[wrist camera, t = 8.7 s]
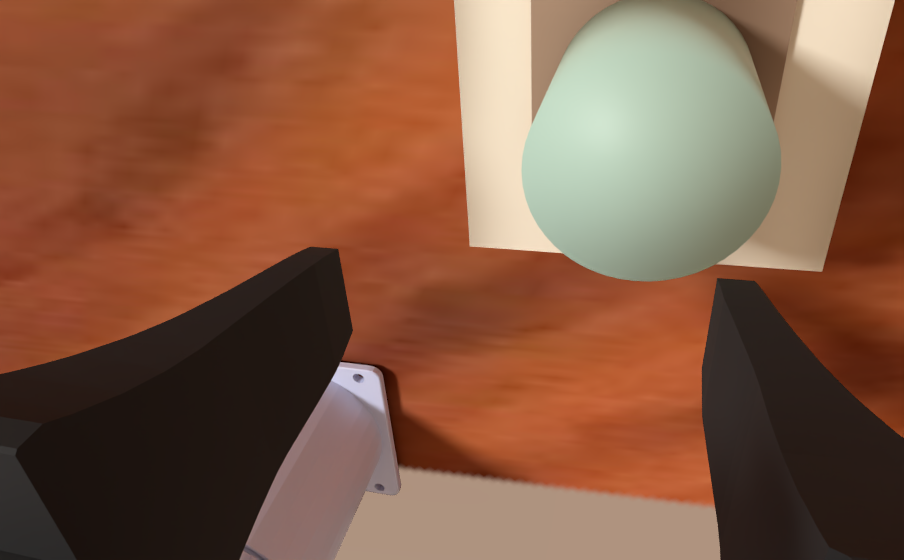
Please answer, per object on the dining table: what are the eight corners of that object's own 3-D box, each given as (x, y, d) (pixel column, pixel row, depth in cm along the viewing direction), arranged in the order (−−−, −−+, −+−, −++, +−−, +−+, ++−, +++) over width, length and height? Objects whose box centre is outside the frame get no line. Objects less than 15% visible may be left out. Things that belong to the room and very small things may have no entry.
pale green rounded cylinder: (553, 176, 19) (522, 271, 15) (557, -7, 16) (520, 49, 12) (736, 185, 18) (756, 291, 14) (771, -10, 15) (807, 50, 11)
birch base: (489, 202, 24) (468, 249, 21) (475, -133, 18) (443, -124, 16) (804, 220, 21) (823, 275, 19) (896, -162, 16) (940, -158, 13)
